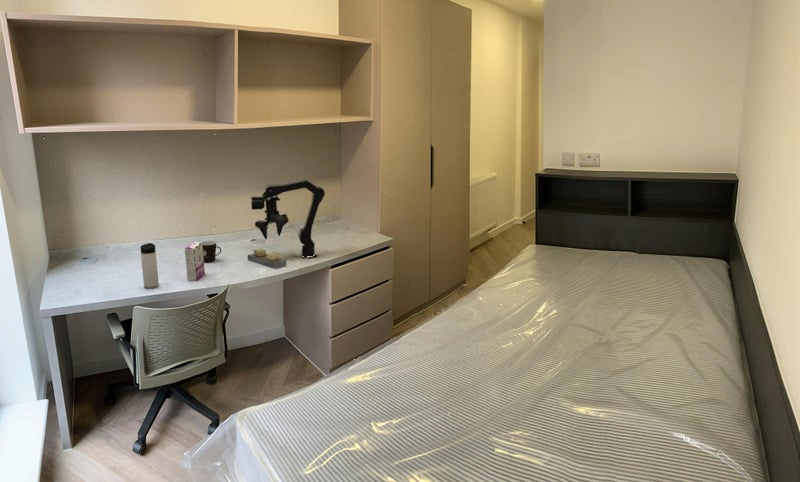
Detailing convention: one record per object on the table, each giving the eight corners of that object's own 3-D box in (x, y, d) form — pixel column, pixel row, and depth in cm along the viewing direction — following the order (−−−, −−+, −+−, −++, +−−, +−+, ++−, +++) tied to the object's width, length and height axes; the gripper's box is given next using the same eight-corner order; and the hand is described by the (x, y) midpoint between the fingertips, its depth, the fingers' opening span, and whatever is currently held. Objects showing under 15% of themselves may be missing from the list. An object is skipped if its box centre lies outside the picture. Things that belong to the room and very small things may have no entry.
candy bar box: (195, 273, 288) (192, 241, 284) (205, 273, 288) (202, 241, 284) (186, 281, 277) (184, 247, 273) (197, 281, 277) (194, 248, 273)
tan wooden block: (274, 263, 307) (273, 252, 306) (279, 265, 305) (279, 254, 303) (267, 265, 304) (267, 254, 302) (272, 267, 301) (272, 255, 300)
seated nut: (261, 259, 314) (260, 248, 312) (266, 260, 311) (265, 250, 310) (254, 260, 311) (253, 250, 309) (259, 262, 308) (259, 251, 306)
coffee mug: (197, 260, 308) (196, 242, 306) (212, 257, 314) (211, 239, 312) (208, 265, 300) (206, 247, 298) (223, 262, 306) (222, 244, 304)
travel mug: (161, 284, 272) (157, 242, 267) (155, 289, 266) (152, 246, 261) (147, 284, 272) (143, 242, 267) (141, 288, 266) (137, 246, 260)
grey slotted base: (260, 257, 317) (259, 251, 317) (286, 265, 304) (286, 260, 303) (247, 260, 311) (247, 254, 311) (274, 269, 298) (274, 263, 297)
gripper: (268, 213, 296) (269, 243, 300) (295, 208, 311) (295, 236, 315) (253, 210, 303) (255, 239, 307) (280, 205, 317) (281, 233, 321)
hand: (272, 237), depth 312 cm, fingers open, 9 cm apart
